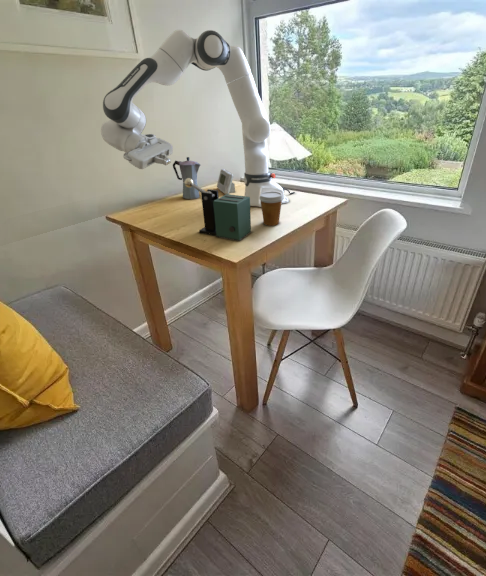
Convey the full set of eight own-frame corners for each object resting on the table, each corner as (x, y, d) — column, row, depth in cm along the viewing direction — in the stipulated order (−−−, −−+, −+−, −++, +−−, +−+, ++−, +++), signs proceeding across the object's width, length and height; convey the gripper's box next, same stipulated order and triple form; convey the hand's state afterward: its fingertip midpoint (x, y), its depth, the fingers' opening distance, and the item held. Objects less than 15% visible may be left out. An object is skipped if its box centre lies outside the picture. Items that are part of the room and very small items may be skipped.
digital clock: (216, 188, 185) (215, 168, 179) (232, 186, 186) (231, 167, 181) (219, 195, 171) (217, 175, 166) (236, 194, 173) (235, 173, 167)
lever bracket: (199, 233, 128) (194, 192, 119) (210, 226, 134) (206, 187, 125) (216, 236, 125) (212, 195, 116) (227, 229, 131) (224, 189, 122)
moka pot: (201, 200, 165) (196, 159, 155) (173, 199, 168) (166, 158, 157) (207, 195, 173) (203, 155, 162) (180, 194, 176) (174, 155, 165)
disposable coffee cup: (287, 222, 135) (288, 194, 128) (271, 229, 129) (271, 199, 123) (270, 217, 141) (270, 189, 134) (255, 223, 135) (254, 194, 129)
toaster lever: (181, 185, 123) (183, 177, 121) (187, 183, 126) (189, 175, 124) (209, 203, 121) (211, 195, 119) (214, 200, 124) (216, 192, 122)
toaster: (214, 237, 123) (211, 201, 116) (228, 228, 131) (226, 193, 123) (238, 242, 119) (235, 204, 112) (251, 232, 127) (249, 196, 120)
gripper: (119, 147, 117) (151, 163, 115) (155, 132, 131) (184, 146, 129) (120, 163, 122) (151, 179, 120) (154, 147, 136) (182, 161, 134)
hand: (168, 162), depth 125 cm, fingers closed
